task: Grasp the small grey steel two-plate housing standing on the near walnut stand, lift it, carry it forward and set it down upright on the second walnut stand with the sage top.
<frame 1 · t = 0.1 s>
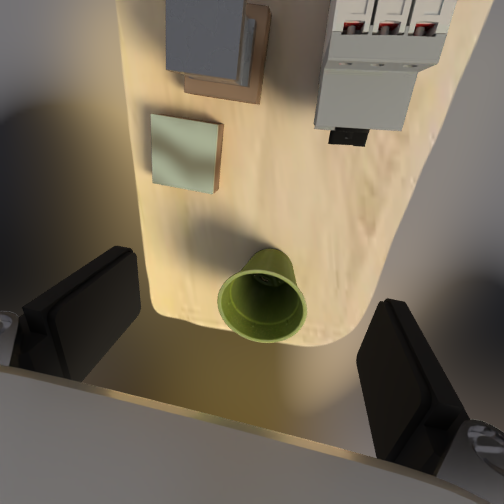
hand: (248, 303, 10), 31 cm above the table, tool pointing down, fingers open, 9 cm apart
plant pot: (270, 267, 45), on the table
stand b: (191, 153, 39), on the table
stand a: (229, 58, 33), on the table
circuit breaker: (351, 75, 32), on the table
housing: (222, 52, 31), point 3 cm above the table, touching stand a
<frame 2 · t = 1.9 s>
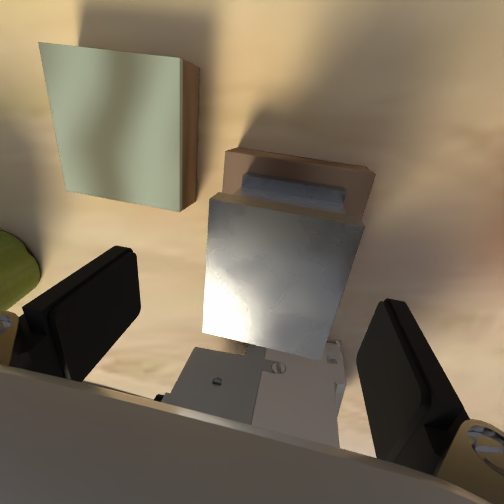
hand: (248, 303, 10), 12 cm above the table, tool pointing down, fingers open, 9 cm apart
plant pot: (12, 258, 29), on the table
stand b: (140, 132, 20), on the table
stand a: (288, 218, 21), on the table
circuit breaker: (261, 355, 28), on the table
housing: (284, 231, 18), point 3 cm above the table, touching stand a
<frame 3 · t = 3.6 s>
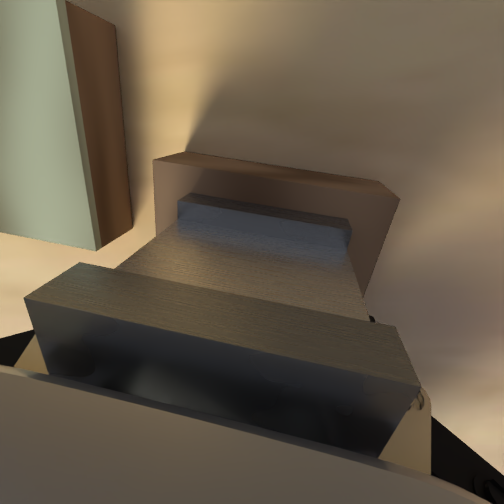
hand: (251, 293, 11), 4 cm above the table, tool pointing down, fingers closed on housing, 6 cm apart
stand b: (41, 129, 14), on the table
stand a: (264, 252, 14), on the table
housing: (255, 282, 12), point 3 cm above the table, touching gripper, stand a
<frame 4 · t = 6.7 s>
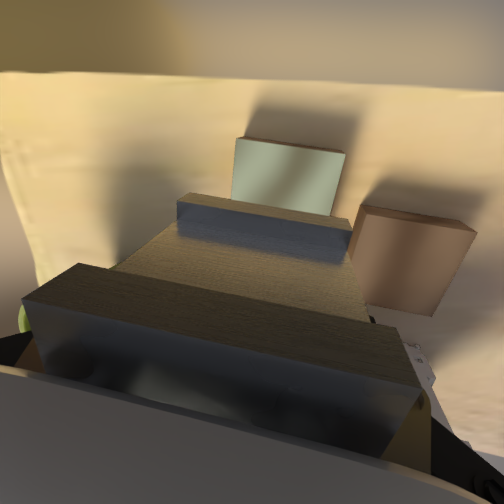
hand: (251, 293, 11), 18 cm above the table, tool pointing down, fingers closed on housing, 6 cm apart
stand b: (282, 192, 27), on the table
stand a: (391, 254, 27), on the table
circuit breaker: (349, 356, 34), on the table
housing: (254, 283, 12), point 17 cm above the table, touching gripper
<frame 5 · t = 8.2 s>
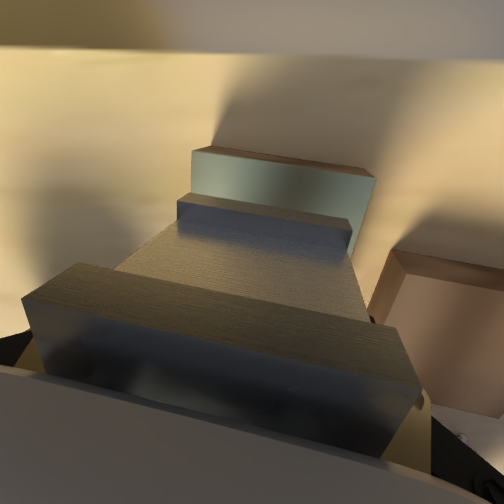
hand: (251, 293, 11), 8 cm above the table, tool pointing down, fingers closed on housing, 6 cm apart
stand b: (272, 228, 18), on the table
stand a: (435, 320, 18), on the table
housing: (254, 283, 12), point 7 cm above the table, touching gripper
when the fingers open (4 cm above the table, at t = 9.8 s): housing stays where it is, resting on stand b.
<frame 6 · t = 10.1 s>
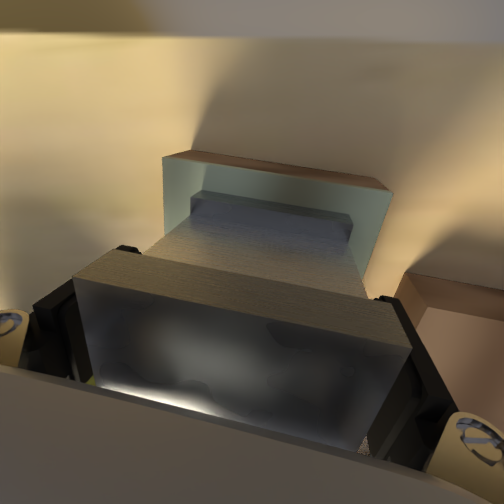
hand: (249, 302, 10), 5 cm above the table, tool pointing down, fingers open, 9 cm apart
stand b: (265, 246, 15), on the table
stand a: (455, 351, 16), on the table
housing: (261, 275, 12), point 3 cm above the table, touching stand b
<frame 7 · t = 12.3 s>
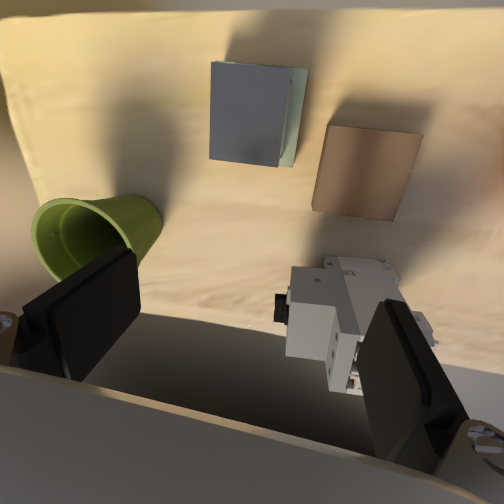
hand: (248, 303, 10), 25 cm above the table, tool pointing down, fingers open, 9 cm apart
plant pot: (139, 218, 39), on the table
stand b: (259, 117, 30), on the table
stand a: (357, 171, 31), on the table
circuit breaker: (328, 278, 38), on the table
housing: (257, 117, 28), point 3 cm above the table, touching stand b
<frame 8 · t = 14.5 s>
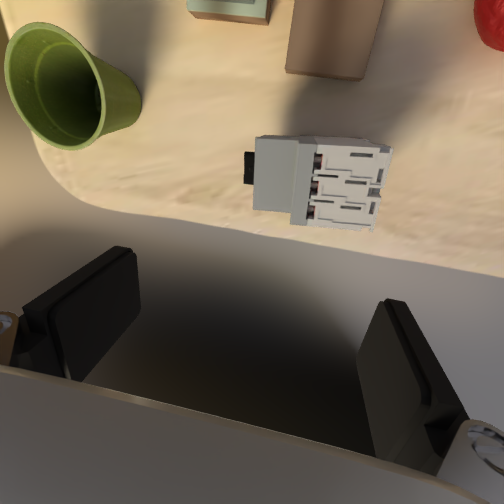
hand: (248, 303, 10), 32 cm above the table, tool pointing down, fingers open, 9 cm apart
plant pot: (118, 99, 39), on the table
stand a: (331, 31, 32), on the table
circuit breaker: (304, 164, 39), on the table
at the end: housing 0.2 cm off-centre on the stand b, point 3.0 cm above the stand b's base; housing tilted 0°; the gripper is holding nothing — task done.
